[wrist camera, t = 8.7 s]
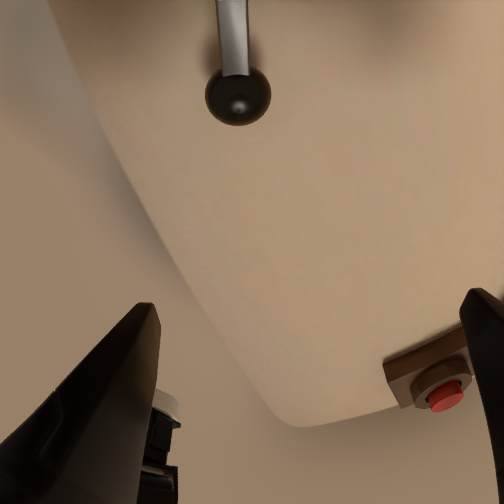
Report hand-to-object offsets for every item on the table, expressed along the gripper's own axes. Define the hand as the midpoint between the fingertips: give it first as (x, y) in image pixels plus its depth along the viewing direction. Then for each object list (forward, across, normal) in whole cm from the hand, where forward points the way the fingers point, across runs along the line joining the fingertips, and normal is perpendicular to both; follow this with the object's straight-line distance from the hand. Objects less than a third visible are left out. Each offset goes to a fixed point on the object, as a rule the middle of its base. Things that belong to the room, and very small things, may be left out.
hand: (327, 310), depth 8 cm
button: (+7, -17, +21) cm, 27 cm away
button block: (+11, -17, +21) cm, 29 cm away
